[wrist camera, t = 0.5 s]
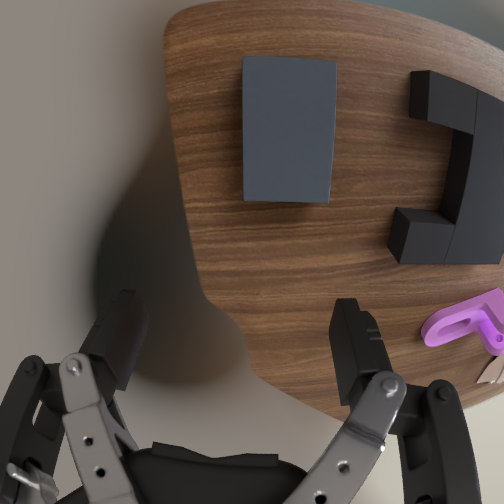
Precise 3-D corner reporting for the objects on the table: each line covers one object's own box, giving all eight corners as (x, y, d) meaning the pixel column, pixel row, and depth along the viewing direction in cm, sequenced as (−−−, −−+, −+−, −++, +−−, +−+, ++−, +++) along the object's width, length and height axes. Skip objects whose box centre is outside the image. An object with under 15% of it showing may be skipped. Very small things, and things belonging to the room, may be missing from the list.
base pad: (410, 71, 16) (429, 69, 13) (514, 113, 16) (533, 119, 13) (386, 246, 24) (398, 264, 22) (485, 250, 24) (499, 264, 21)
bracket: (498, 287, 26) (524, 320, 20) (489, 316, 29) (510, 349, 23) (423, 315, 29) (446, 358, 23) (418, 343, 31) (435, 384, 25)
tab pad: (245, 188, 22) (243, 201, 20) (245, 62, 17) (241, 56, 14) (321, 190, 22) (328, 203, 19) (327, 66, 17) (337, 61, 14)
